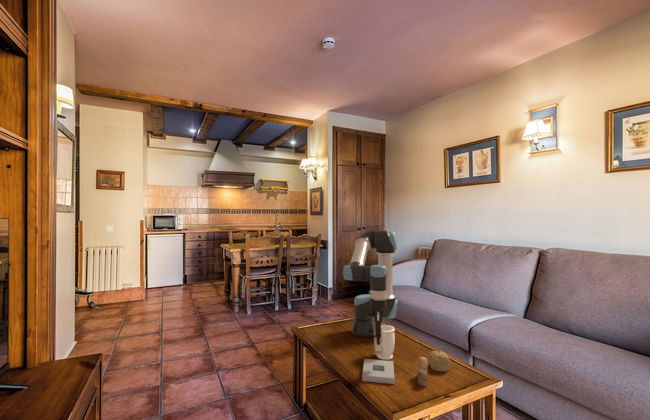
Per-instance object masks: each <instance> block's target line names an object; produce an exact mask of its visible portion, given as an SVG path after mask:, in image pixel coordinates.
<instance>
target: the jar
mask: <svg viewBox="0 0 650 420" xmlns="http://www.w3.org/2000/svg"><path fill="white" fill-rule="evenodd" d="M381 327H383V354H382V355H376V357H377V358H378V359H379V360H384V361H391V360H392V359H393V357H394V355H393V352H394V350H395V345H396V343H395V342H396V339H395V338H396V337H395V331H396V329H395V327H394V326H392V325H389V324H381Z"/></svg>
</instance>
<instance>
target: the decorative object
mask: <svg viewBox="0 0 650 420" xmlns="http://www.w3.org/2000/svg"><path fill="white" fill-rule="evenodd" d="M428 361H429V367H430V369H432V370H433V371H436V372H443V373H445V372H447V371H449V369H450V358H449V356H448V355H447V353H445V352H444V351H441V350H440V351H439V350H432V351H430V353H429V360H428Z"/></svg>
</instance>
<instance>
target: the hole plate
mask: <svg viewBox="0 0 650 420" xmlns="http://www.w3.org/2000/svg"><path fill="white" fill-rule="evenodd" d="M361 377H362V382H369V383H370V382H372V383H380V384H389V385H390V384H391V385H395V368H394V361H393V360H382V359H370V358H364V359H363V367H362V375H361Z"/></svg>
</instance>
